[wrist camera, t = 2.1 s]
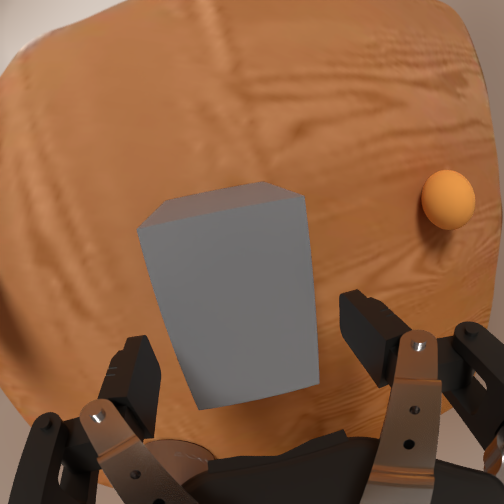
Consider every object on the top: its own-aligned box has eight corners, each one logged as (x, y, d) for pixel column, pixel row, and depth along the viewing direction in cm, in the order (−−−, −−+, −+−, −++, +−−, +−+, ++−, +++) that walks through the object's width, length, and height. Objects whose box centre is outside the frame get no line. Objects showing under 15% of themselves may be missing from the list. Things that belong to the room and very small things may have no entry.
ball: (430, 233, 23) (467, 248, 19) (401, 199, 22) (440, 211, 17) (454, 191, 23) (491, 200, 18) (427, 156, 21) (467, 159, 16)
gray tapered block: (282, 311, 23) (319, 383, 15) (198, 328, 22) (198, 410, 14) (263, 181, 20) (304, 195, 12) (165, 200, 19) (136, 229, 11)
